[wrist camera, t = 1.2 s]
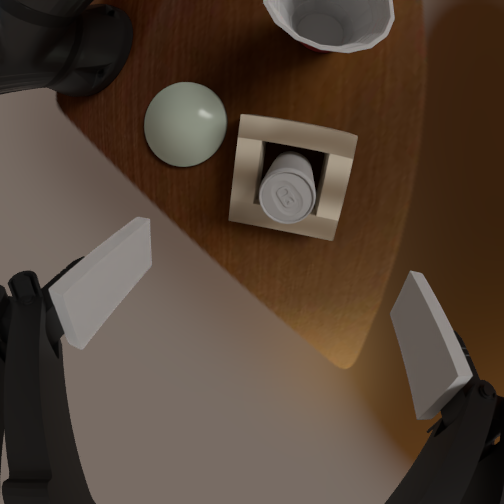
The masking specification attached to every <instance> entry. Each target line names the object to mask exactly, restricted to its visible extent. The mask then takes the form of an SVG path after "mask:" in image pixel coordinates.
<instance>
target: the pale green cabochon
mask: <svg viewBox="0 0 504 504" xmlns="http://www.w3.org/2000/svg"><path fill="white" fill-rule="evenodd" d="M144 130H145V136H146V139H147V142H148V144H149V146H150V148H151V150H152V151H153V152H154V153H155V155H156V156H157V157H159V158H160V159H161V160H163V161H164V162H166V163H168V164H171V165H174V166H179V167H187V166H193V165H196V164H199V163H201V162H203V161H205V160H207V159H208V158H210V157H211V156H212V155H213V154H214V153H215V152H216V151H217V150H218V149H219V148H220V146H221V144H222V143H223V140H224V138H225V135H226V131H227V114H226V110H225V107H224V105H223V103H222V101H221V99H220V98H219V97H218V96H217V94H216V93H215V92H213V91H212V90H211V89H209V88H207V87H206V86H203V85H201V84H197V83H192V82H181V83H176V84H173V85H170V86H168V87H166V88H165V89H163V90H162V91H160V92H159V93H158V94H157V95H156V96H155V97H154V99H153V100H152V102H151V103H150V105H149V107H148V109H147V112H146V116H145V121H144Z"/></svg>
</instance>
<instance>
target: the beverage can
mask: <svg viewBox="0 0 504 504" xmlns="http://www.w3.org/2000/svg"><path fill="white" fill-rule="evenodd" d="M315 200H316V191H315V184H314V179H313V173H312V167H311V164H310V162H309V160H308V159H307V158H306V157H305V156H303V155H302V154H300V153H298V152H294V151H287V152H284V153H281V154H280V155H279V156H277V158H276V159H275V160H274V162H273V164H272V165H271V167H270V168H269V170H268V172H267V174H266V175H265V177H264V179H263V180H262V183H261V185H260V188H259V201H260V205H261V207H262V209H263V211H264V212H265V214H266V215H267V216H268V217H269V218H271V219H272V220H274V221H276V222H279V223H283V224H293V223H297V222H299V221H301V220H303V219H304V218H306V217H307V216H308V215H309V213H310V212H311V210H312V209H313V206H314V204H315Z"/></svg>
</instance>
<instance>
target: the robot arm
mask: <svg viewBox="0 0 504 504" xmlns="http://www.w3.org/2000/svg"><path fill="white" fill-rule="evenodd" d="M92 1H93V0H0V94H5V93H10V92H16V91H22V90H28V89H35V88H45V87H47V88H49V89H52V90H55V91H57V92H60V93H62V94H65V95H67V96H73V97H79V96H89V95H93V94H95V93H97V92H99V91H101V90H103V89H104V88H105V87H107V86H108V85H109V84H110V83H111V82H112V81H113V80H114V79H115V78H116V76H117V75H118V74H119V72H120V71H121V69H122V68H123V66H124V64H125V62H126V60H127V58H128V55H129V52H130V49H131V45H132V39H133V29H132V24H131V21H130V19H129V17H128V15H127V14H126V13H125V12H124V11H123V10H121V9H119V8H117V7H114V6H111V5H107V4H96V5H89V4H90V3H91V2H92ZM151 266H152V259H151V239H150V219H147V218H142V217H136V218H135V219H133V220H132V221H131V222H129V223H128V224H127V225H125V226H124V227H123V228H121V229H120V230H119V231H117V232H116V233H115V234H113V235H112V236H111V237H109V238H108V239H107V240H106V241H104V242H103V243H102V244H101V245H99V246H98V247H97V248H96V249H94V250H93V251H92V252H91V253H89V254H88V255H87V256H86V257H81V258H79V259H77V260H75V261H73V262H72V263H71V264H69V265H68V266H67V267H66V269H63V270H62V271H61V272H60V274H58V275H56V276H55V277H54V278H53V279H52V280H51V281H50V282H48V283H47V284H46V285H45V286H44V287H43V288H42V289H41V288H40V285H39V282H38V278H37V275H36V274H35V273H34V272H33V271H23V272H19V273H17V274H16V275H14V276H13V277H12V278H11V279H10V280H9V282H8V285H9V288H10V291H11V293H12V296H13V297H11V296H8V295H7V293H6V290H5V288H4V287H3V286H1V285H0V472H1V456H2V444H3V436H4V429H5V442H6V452H7V459H8V467H9V479H7V480H6V481H4V482H3V485H2V495H3V500H4V504H96V503H95V502H94V500H93V499H92V497H91V495H90V492H89V489H88V486H87V483H86V480H85V476H84V473H83V470H82V467H81V463H80V459H79V455H78V451H77V447H76V443H75V439H74V434H73V430H72V425H71V419H70V414H69V408H68V401H67V394H66V387H65V378H64V368H63V354H62V344H61V340H60V338H61V336H62V335H63V334H65V336H66V338H67V341H68V343H69V344H71V345H73V346H75V347H77V348H79V349H81V350H83V349H84V347H85V346H86V345H87V343H88V342H89V341H90V339H91V338H92V337H93V336H94V334H95V333H96V332H97V331H98V329H99V328H100V327H101V325H102V324H103V323H104V322H105V320H106V319H107V318H108V317H109V316H110V314H111V313H112V312H113V311H114V309H115V308H116V307H117V306H118V305H119V303H120V302H121V301H122V300H123V299H124V297H125V296H126V295H127V294H128V293H129V292H130V290H131V289H132V288H133V287H134V286H135V284H136V283H137V282H138V281H139V280H140V279H141V277H142V276H143V275H144V274H145V273H146V272H147V271H148V270H149V268H150V267H151ZM390 316H391V319H392V322H393V325H394V328H395V332H396V335H397V338H398V342H399V345H400V349H401V353H402V356H403V360H404V363H405V368H406V371H407V376H408V380H409V383H410V388H411V392H412V397H413V402H414V407H415V412H416V417H417V420H423V419H432V418H433V417H434V416H435V415H436V414H437V413H438V412H439V411H441V414H442V418H441V419H439V420H438V421H437V422H436V423H435V424H434V425H433V426H432V427H431V428H429V429H428V431H427V433H429V432H430V431H431V430H433V431H432V433H431V435H430V437H429V439H428V440H427V442H426V444H425V446H424V447H423V449H422V450H421V452H420V454H419V455H418V457H417V459H416V460H415V462H414V463H413V465H412V467H411V468H410V469H409V471H408V473H407V474H406V476H405V477H404V478H403V480H402V481H401V483H400V484H399V485H398V487H397V488H396V489H395V491H394V492H393V493H392V495H391V496H390V497H389V499H388V500H387V501H386V503H385V504H504V397H500V396H498V395H496V391H495V389H494V388H493V386H492V385H491V384H490V383H489V382H487V381H485V380H480V379H479V376H478V374H477V371H476V369H475V366H474V364H473V362H472V360H471V357H470V356H469V353H468V351H467V349H466V346H465V344H464V342H463V340H462V338H461V337H460V336H459V335H458V333H457V332H456V331H453V329H452V327H451V326H450V323H449V321H448V319H447V317H446V315H445V314H444V311H443V310H442V308H441V306H440V304H439V302H438V300H437V298H436V297H435V295H434V293H433V291H432V290H431V288H430V286H429V284H428V283H427V281H426V279H425V277H424V276H423V274H422V273H418V272H413V271H410V272H409V274H408V277H407V279H406V281H405V283H404V285H403V288H402V290H401V292H400V294H399V296H398V298H397V300H396V302H395V304H394V306H393V308H392V310H391V312H390ZM498 436H500V441H499V442H498V443H497V444H496V445H494V440H495V439H496V438H497V437H498Z"/></svg>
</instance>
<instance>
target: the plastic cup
mask: <svg viewBox="0 0 504 504" xmlns="http://www.w3.org/2000/svg"><path fill="white" fill-rule="evenodd" d="M263 1H264V5H265V6H266V8H267V10H268V12H269V13H270V15H271V17H272V19H273V20H274V22H275V23H276V24H277V25H278V26H280V27H281V28H282V29H283V30H285V31H286V32H287V33H288V34H289V35H291V36H292V37H293V38H294V39H295V40H298V41H299V42H300V43H301V44H302V45H304V46H305V47H306V48H307V49H310V50H312V51H315V52H322V53H328V52H332V51H335V52H343V53H350V52H355V51H359V50H364V49H369V48H372V47H373V46H374V45H376V44H377V43H378V42H380V41H381V40H382V39H384V38H385V37H386V36H387V35H388V33H389V31H390V28H391V26H392V24H393V21H394V19H395V18H394V9H393V1H392V0H263Z"/></svg>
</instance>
